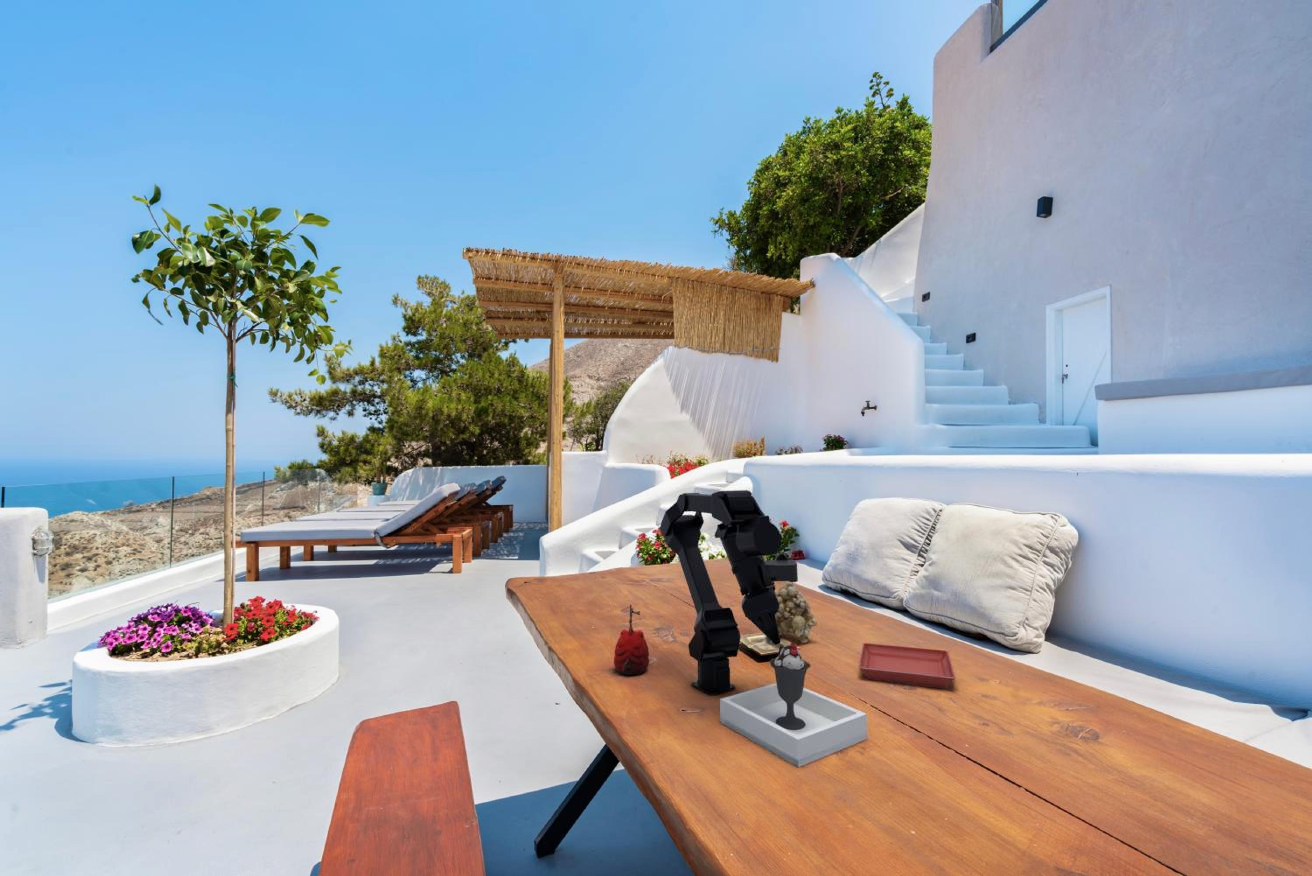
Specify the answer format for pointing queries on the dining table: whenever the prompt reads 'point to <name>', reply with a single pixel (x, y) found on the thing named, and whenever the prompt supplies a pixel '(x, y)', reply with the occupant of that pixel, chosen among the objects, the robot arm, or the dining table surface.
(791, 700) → the sundae
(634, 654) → the red fruit with stem
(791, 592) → the mineral formation
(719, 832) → the dining table surface
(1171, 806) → the dining table surface
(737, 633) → the robot arm
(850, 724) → the tray
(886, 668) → the plant saucer
